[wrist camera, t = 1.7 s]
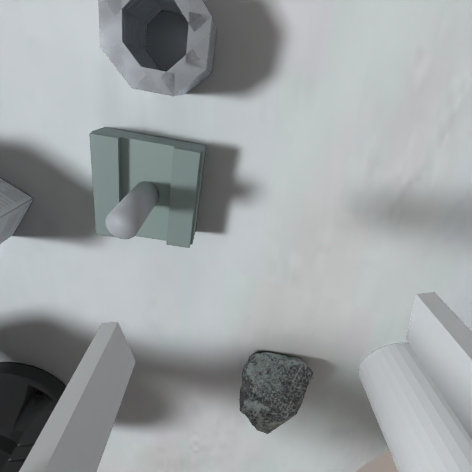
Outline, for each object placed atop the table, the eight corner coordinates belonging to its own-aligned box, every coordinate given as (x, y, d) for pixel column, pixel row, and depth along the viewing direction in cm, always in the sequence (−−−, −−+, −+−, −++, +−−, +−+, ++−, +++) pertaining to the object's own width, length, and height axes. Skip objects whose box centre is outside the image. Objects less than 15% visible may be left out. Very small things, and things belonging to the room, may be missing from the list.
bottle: (385, 399, 49) (508, 654, 27) (341, 370, 45) (443, 639, 23) (447, 364, 45) (653, 633, 23) (405, 329, 41) (602, 611, 19)
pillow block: (108, 218, 32) (61, 268, 24) (104, 127, 28) (44, 147, 19) (195, 231, 33) (181, 284, 24) (205, 145, 29) (194, 172, 20)
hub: (128, 82, 26) (101, 82, 21) (128, -22, 22) (96, -54, 17) (208, 98, 27) (202, 101, 21) (220, -1, 23) (216, -26, 18)
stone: (296, 414, 34) (251, 453, 37) (329, 384, 41) (288, 420, 45) (249, 346, 39) (213, 387, 42) (286, 331, 46) (252, 367, 50)
